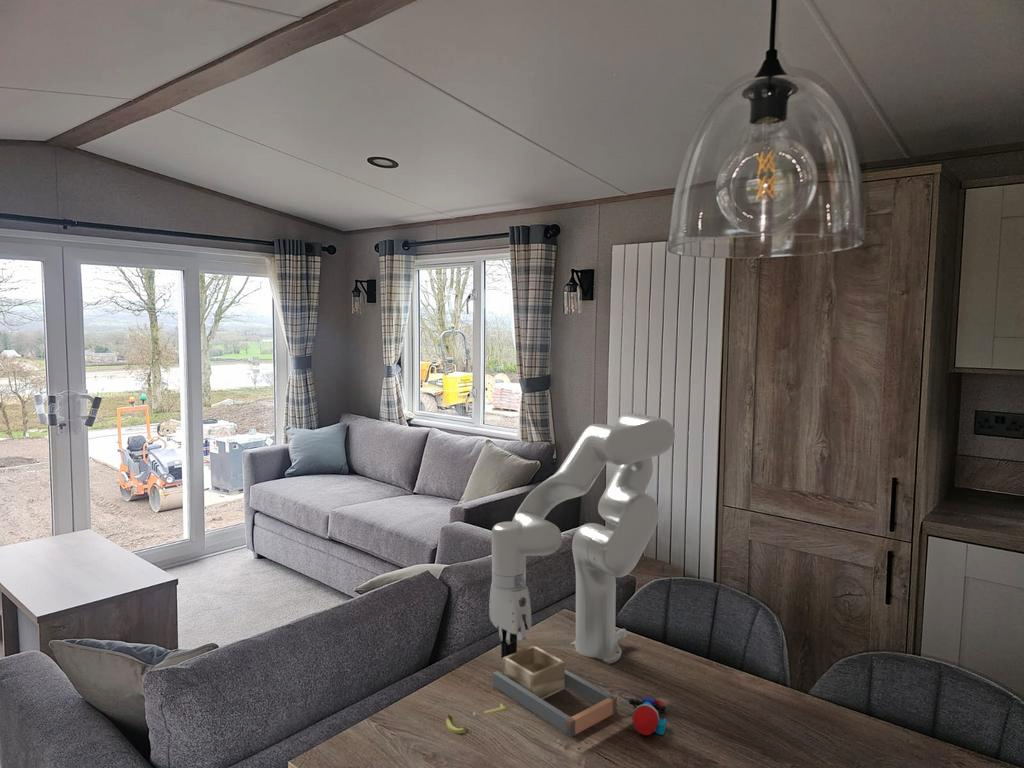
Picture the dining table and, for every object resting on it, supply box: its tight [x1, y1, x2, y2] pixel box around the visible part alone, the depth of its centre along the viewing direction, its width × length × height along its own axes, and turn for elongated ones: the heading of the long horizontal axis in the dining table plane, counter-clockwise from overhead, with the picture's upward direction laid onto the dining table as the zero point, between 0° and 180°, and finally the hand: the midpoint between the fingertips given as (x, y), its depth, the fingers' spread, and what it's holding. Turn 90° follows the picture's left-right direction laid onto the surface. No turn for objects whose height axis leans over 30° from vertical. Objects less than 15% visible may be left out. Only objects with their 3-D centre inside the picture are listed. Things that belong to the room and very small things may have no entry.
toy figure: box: [628, 696, 667, 736], centre depth 135 cm, size 8×5×15 cm
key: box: [445, 703, 506, 735], centre depth 137 cm, size 7×12×2 cm, turn 125°
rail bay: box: [492, 669, 618, 738], centre depth 141 cm, size 24×13×4 cm, turn 40°
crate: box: [502, 645, 566, 700], centre depth 145 cm, size 10×9×6 cm
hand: (509, 657), depth 152 cm, fingers closed
